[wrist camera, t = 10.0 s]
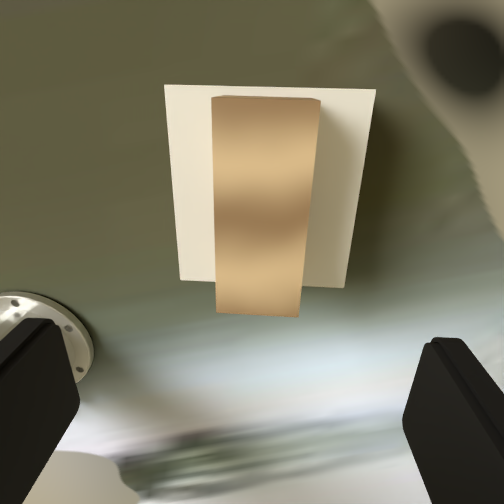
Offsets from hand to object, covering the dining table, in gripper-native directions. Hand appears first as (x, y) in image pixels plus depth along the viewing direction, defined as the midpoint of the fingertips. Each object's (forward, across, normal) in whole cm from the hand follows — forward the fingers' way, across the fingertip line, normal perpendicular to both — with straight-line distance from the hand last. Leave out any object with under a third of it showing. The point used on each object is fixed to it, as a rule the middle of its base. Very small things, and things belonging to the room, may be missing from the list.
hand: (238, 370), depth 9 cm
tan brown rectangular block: (+19, 0, 0) cm, 19 cm away
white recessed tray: (+21, 0, 0) cm, 21 cm away
